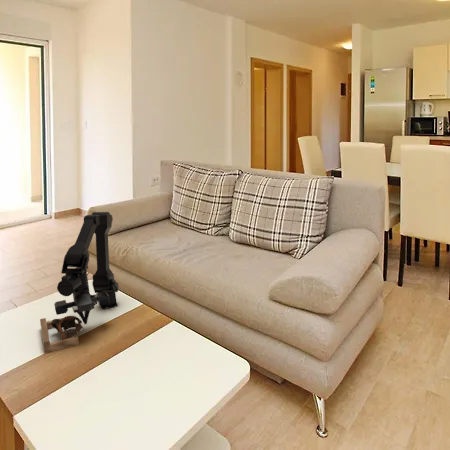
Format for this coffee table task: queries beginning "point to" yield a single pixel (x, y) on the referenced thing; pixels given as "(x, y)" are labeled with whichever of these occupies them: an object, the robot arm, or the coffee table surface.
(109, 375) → the coffee table surface
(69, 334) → the pottery mug
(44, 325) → the walnut guide channel
